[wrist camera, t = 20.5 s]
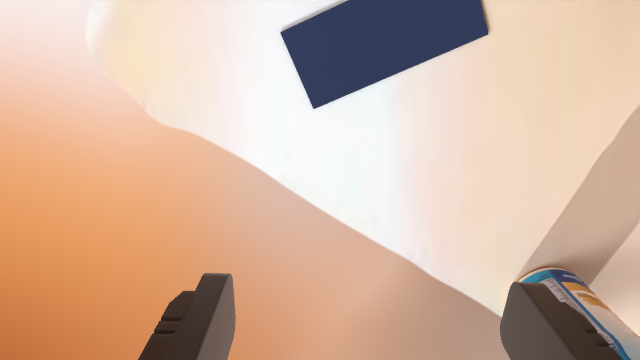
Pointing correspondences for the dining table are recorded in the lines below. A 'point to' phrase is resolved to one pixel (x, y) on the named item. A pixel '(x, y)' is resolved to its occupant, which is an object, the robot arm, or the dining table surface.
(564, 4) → the dining table surface
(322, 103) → the cloth
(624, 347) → the beverage bottle
